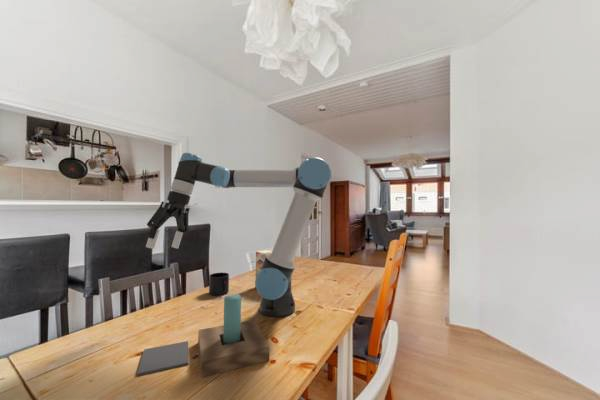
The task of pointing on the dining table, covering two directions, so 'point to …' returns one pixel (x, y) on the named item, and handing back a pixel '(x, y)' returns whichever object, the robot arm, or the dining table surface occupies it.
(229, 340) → the peg
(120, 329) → the dining table surface
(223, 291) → the mug
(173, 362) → the mat
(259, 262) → the coffeecake box
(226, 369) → the pocket block
